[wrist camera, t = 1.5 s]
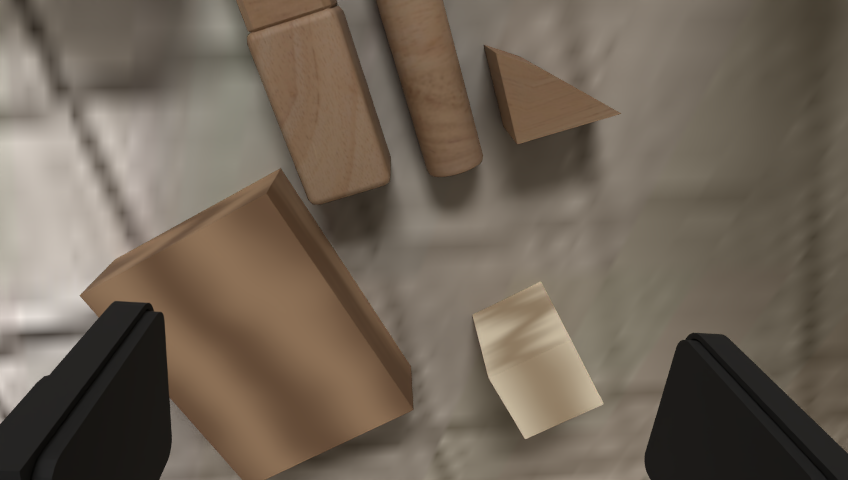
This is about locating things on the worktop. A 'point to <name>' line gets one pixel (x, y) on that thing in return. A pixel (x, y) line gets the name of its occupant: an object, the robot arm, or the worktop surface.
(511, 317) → the maple block
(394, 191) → the worktop surface
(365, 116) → the wooden block set
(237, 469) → the walnut block
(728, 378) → the robot arm
